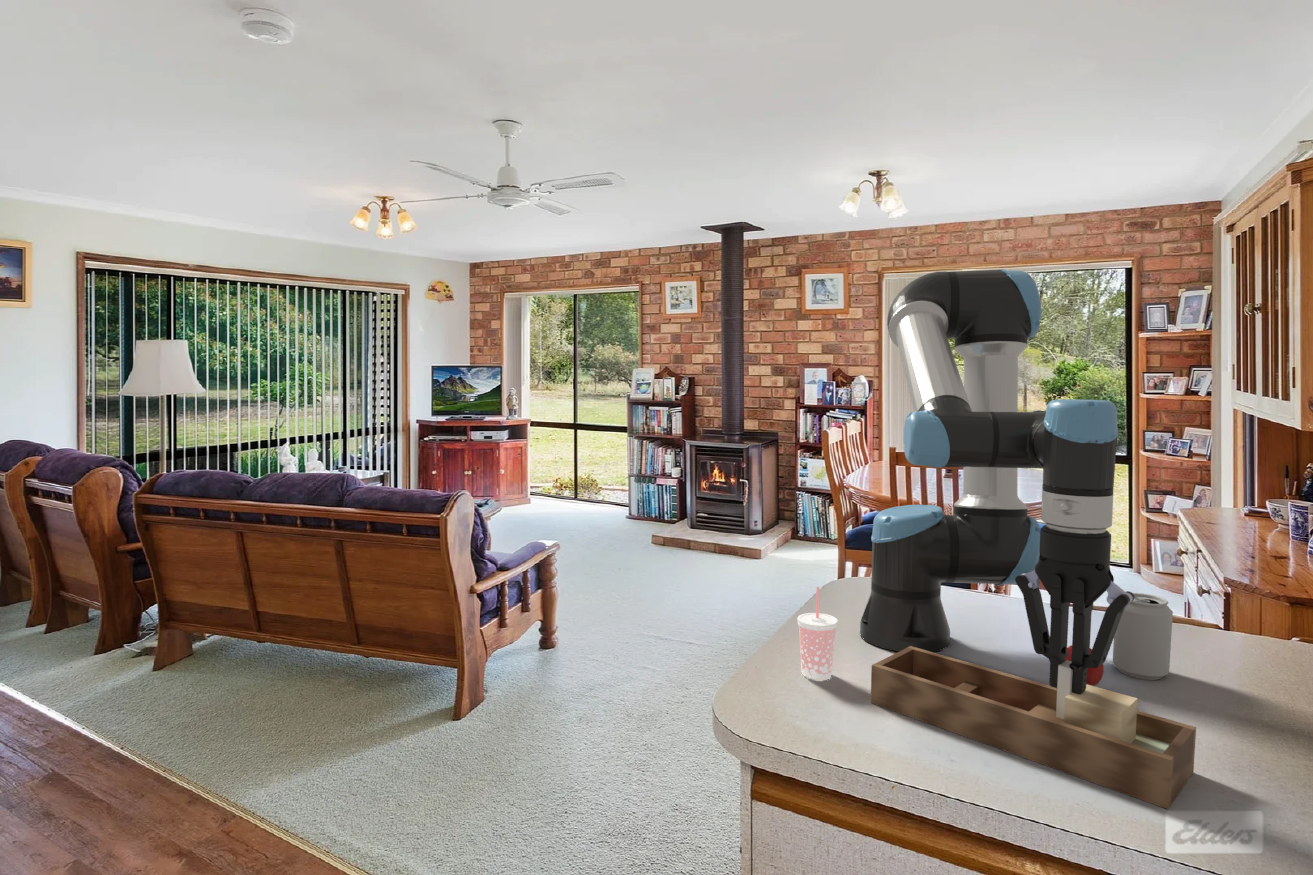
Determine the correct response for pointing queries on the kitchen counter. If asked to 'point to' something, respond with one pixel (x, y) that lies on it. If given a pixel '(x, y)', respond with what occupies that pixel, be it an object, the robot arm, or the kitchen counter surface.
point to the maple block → (1103, 713)
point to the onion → (1089, 670)
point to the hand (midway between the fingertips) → (1066, 715)
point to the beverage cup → (817, 642)
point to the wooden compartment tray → (1034, 724)
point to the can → (1144, 638)
